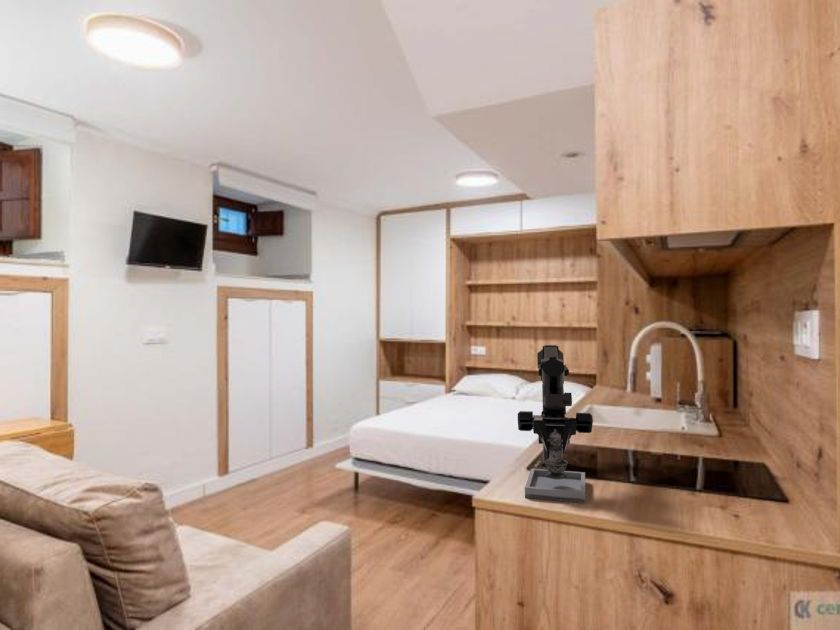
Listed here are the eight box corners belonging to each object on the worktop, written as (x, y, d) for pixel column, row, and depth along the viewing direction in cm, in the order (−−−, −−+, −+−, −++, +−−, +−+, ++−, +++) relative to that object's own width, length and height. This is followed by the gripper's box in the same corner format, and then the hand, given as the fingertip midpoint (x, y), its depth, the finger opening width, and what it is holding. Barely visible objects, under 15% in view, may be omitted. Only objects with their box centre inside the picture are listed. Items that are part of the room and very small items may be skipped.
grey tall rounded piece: (543, 471, 132) (542, 425, 132) (566, 472, 131) (566, 426, 131) (544, 479, 126) (543, 431, 126) (569, 480, 125) (568, 431, 125)
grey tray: (531, 477, 139) (531, 468, 139) (585, 481, 135) (584, 472, 135) (525, 497, 124) (524, 487, 124) (585, 503, 119) (585, 492, 119)
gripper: (517, 380, 134) (516, 432, 124) (591, 381, 130) (597, 435, 119) (518, 404, 142) (518, 455, 131) (588, 406, 138) (594, 458, 127)
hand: (555, 451), depth 127 cm, fingers closed on grey tall rounded piece, 4 cm apart
